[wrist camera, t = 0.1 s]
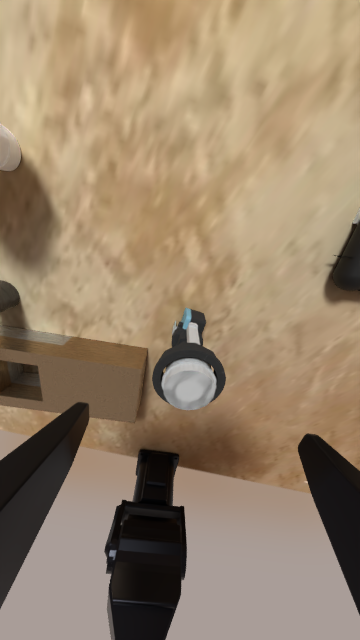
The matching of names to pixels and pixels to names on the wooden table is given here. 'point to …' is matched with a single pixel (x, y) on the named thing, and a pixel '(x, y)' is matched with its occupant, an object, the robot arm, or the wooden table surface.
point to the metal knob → (8, 296)
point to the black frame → (350, 262)
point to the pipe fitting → (8, 150)
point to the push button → (188, 367)
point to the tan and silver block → (70, 374)
